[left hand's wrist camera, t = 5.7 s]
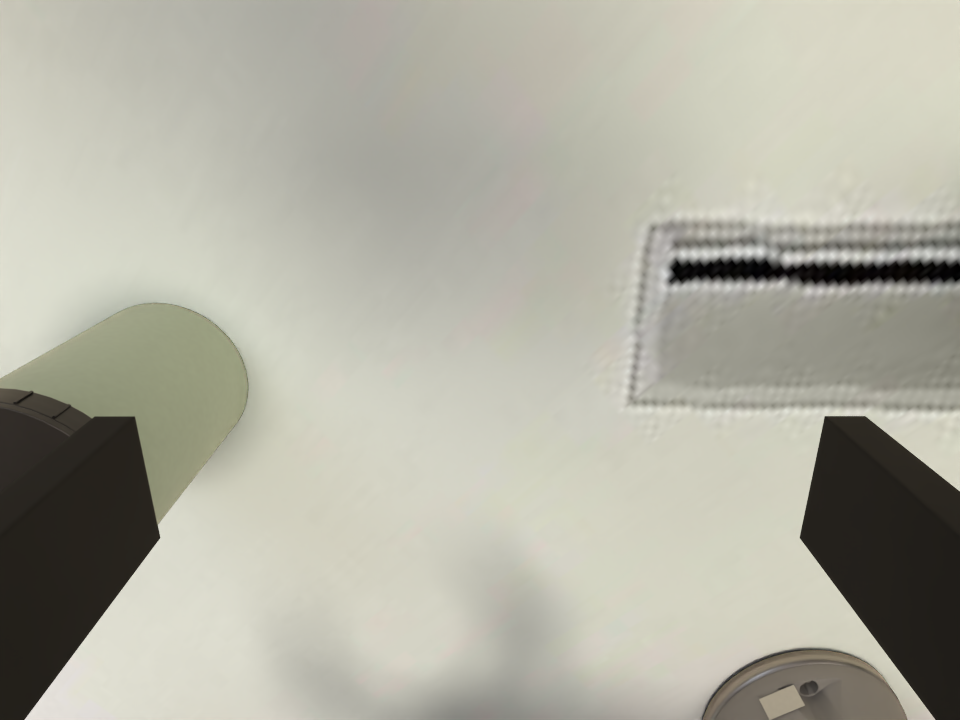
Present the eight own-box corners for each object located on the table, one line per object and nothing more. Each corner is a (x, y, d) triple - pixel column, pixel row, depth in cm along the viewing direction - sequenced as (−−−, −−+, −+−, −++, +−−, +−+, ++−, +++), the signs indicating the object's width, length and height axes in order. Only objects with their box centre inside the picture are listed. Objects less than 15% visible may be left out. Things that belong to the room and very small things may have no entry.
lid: (165, 420, 28) (146, 438, 26) (143, 618, 32) (125, 644, 30) (-104, 357, 27) (-139, 372, 25) (-93, 570, 31) (-124, 594, 29)
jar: (258, 325, 41) (141, 440, 27) (237, 463, 45) (123, 628, 30) (93, 284, 40) (-118, 380, 26) (84, 427, 44) (-107, 582, 29)
